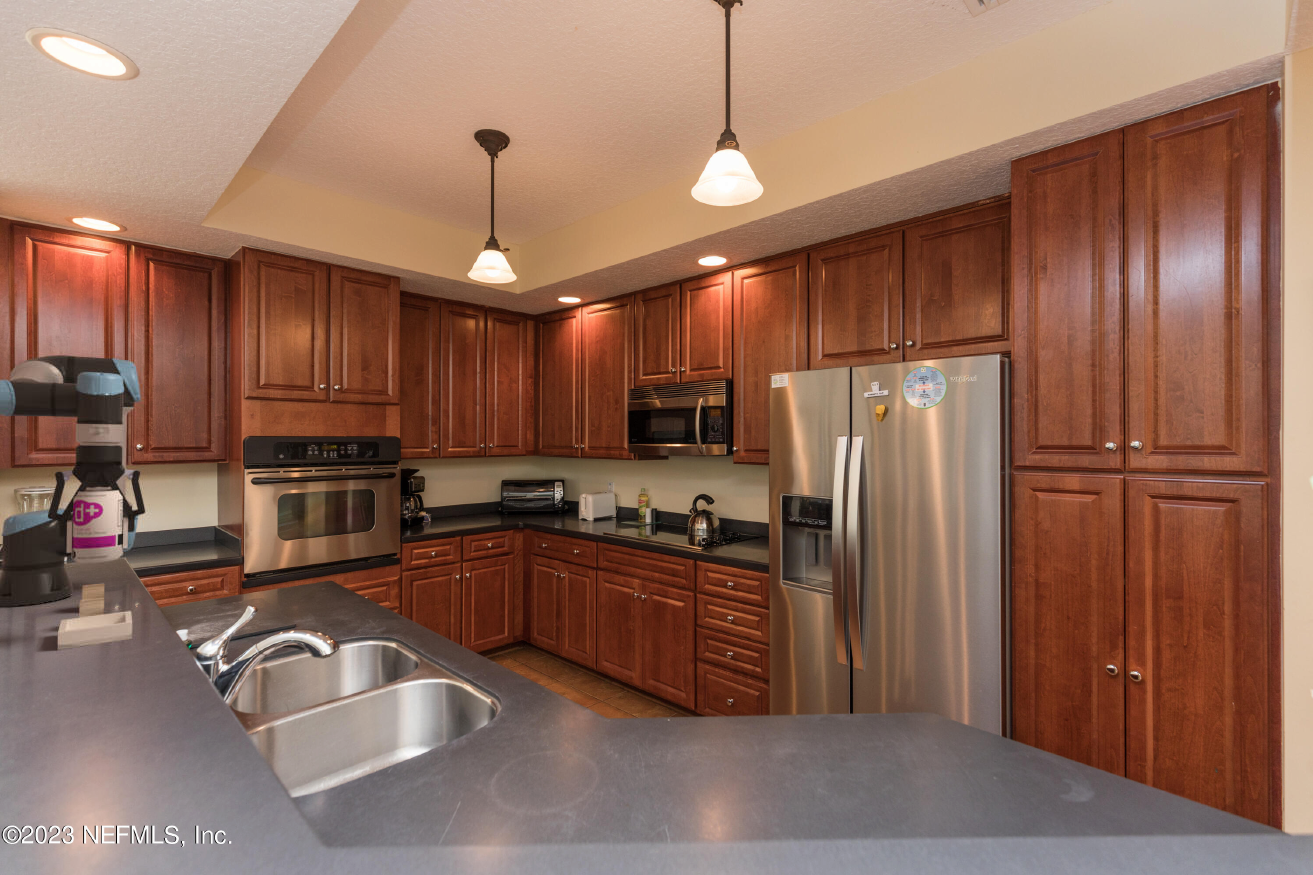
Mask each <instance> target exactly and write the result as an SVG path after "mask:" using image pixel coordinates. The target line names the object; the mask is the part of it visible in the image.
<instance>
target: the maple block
mask: <svg viewBox="0 0 1313 875" xmlns="http://www.w3.org/2000/svg"><path fill="white" fill-rule="evenodd" d="M81 590H82V591H81V592H82V593H81V600H88V599H96V598H104V599H105V583H96V584H94V583H93V584H86V585H82V589H81Z"/></svg>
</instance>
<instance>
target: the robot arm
mask: <svg viewBox="0 0 1313 875" xmlns="http://www.w3.org/2000/svg"><path fill="white" fill-rule="evenodd" d="M136 367H137V366H136V365H135V363H134V362H132V361H130V360H126V359H125V360H124V359H119V358H114V357H113V358H108V357H107V358H105V357H93V356H92V357H91V356H74V355H65V354H64V355H63V354H62V355H61V354H59V355H58V354H57V355H46V356H45V355H44V356H40V357H36V358H30V359H28V360H25V361H23V362H20V363H18V364H17V365H16V366H15V367H14V368H13V369H12V370H11V372H10V375H9V379H0V416H4V417H12V416H14V417H16V416H17V417H20V416H21V417H52V418H53V417H55V418H76V424H75V433H76V434H75V442H76V443H77V444H78V445H76V446H75V465H74V467H73V469H71V470H65V471H61V470H60V471H56V472H55V473H54V476H55V477H54V478H55V481H56V484H55V489H54V491H53V495H52V499H51V502H50V506H49V509H42V510H35V511H28V512H24V513H17V514H14V515H13V514H12V515H10V516H9V517H6V519H4V521H3V527H2V533H1V537H2V552H1V553H2V554H1V556H2V559H1V560H2V561H1V565H2V566H1V569H2V570H1V575H0V607H3V608H4V607H20V606H19V605H25V606H30V604H34V605H39V604H40V603H41V604H45V603H44V602H47V603H49V602H48V601H52V602H56V601H55V600H57V601H60V600H59V599H61V600H63V599H62V598H65V597H68V596H70V595H71V594H73V595H74V586H73V585H74V584H73V583H72V581H71V579H70V577H69V575H68V574H69V573H68V571H67V570H66V568H65V558H67V557H71V558H72V511H73V499H74V497H75V496H76V495H77V494H78V492H85V490H96V489H112V491H116V490H119V492H120V494H121V495H122V497H123V509H124V518H123V553H124V552H127V551H130V550H131V549H132V548H133V546H134V542H135V538H136V534H137V528H138V520H139V516H140V515H144V514H145V513H146V508H145V503H144V499H143V495H142V490H141V487H140V482H139V479H140V476H141V472H140V470H139V469H135V470H133V469H127V434H128V432H127V430H128V428H127V426H128V421H127V420H128V414H129V413H130V412H131V411H133V410H134V409H135V403H140V402H141V400H142V399H141V393H140V392H141V391H140V390H141V389H140V383H139V377H138V372H137V368H136ZM72 476H74V477H75V478H76V479H77V480H78V481H79V482H80V485H79V486H78V488H77V489H76V491H75V493H74V495H73V496H72V498H71V499H70V501H69V502H68V504H67V505H66V507H65V508H61V507H60V504H61V499H62V496H63V492H64V489H65V484H66V482H68V481H69V480H70V478H71V477H72ZM126 478H127V479H128V480H130V482H131V485H132V486H131V487H132V491H133V494H134V500H135V504H136V507H137V509H133V503H131V501H129V500H128V499H127V498H126V492H127V490H126V488H127V487H126V486H127V484H126V482H127V481H126ZM70 597H71V596H70ZM68 598H69V597H68ZM65 599H66V598H65Z"/></svg>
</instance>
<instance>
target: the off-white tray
mask: <svg viewBox="0 0 1313 875" xmlns="http://www.w3.org/2000/svg"><path fill="white" fill-rule="evenodd" d="M126 640H133V617H132V611H131V610H128V611H121V612H120V611H119V612H111V613H106V614H105V613H103V615H96V616H88V617H81V618H79V617H74V618H67V619H61V621H60V625H59V627H58V632H57V651H62V650H68V649H69V650H70V649H74V648H80V647H81V648H82V647H87V646H94V645H100V644H106V643H108V644H109V643H113V642H120V641H126Z"/></svg>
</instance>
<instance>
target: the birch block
mask: <svg viewBox="0 0 1313 875" xmlns="http://www.w3.org/2000/svg"><path fill="white" fill-rule="evenodd" d="M78 606H79V613H78V616H79V617H78V618H81V617H88V616H96V615H103V614H104V610H105V597H104V598H96V599H88V600H82V599H81V600H80V601H79V605H78ZM103 609H104V610H103Z"/></svg>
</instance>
